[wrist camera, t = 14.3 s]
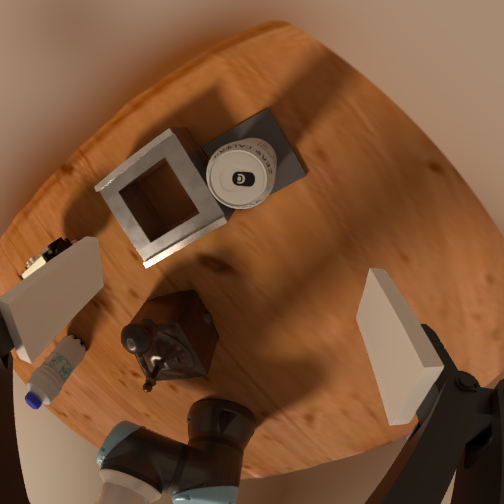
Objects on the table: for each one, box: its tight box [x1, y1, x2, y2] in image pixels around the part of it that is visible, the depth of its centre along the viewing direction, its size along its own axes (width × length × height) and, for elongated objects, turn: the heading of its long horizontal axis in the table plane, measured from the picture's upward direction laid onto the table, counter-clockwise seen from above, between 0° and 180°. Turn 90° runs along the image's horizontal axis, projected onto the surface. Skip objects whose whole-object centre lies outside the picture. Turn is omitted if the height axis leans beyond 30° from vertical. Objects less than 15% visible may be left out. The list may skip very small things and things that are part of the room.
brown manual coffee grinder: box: [121, 290, 219, 392], centre depth 40 cm, size 16×11×18 cm
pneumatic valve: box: [20, 237, 78, 280], centre depth 41 cm, size 6×12×12 cm, turn 119°
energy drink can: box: [206, 138, 277, 209], centre depth 31 cm, size 6×6×15 cm
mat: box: [202, 109, 306, 210], centre depth 38 cm, size 10×10×1 cm
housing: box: [94, 128, 235, 268], centre depth 38 cm, size 13×13×7 cm
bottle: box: [25, 335, 85, 409], centre depth 47 cm, size 7×7×20 cm
